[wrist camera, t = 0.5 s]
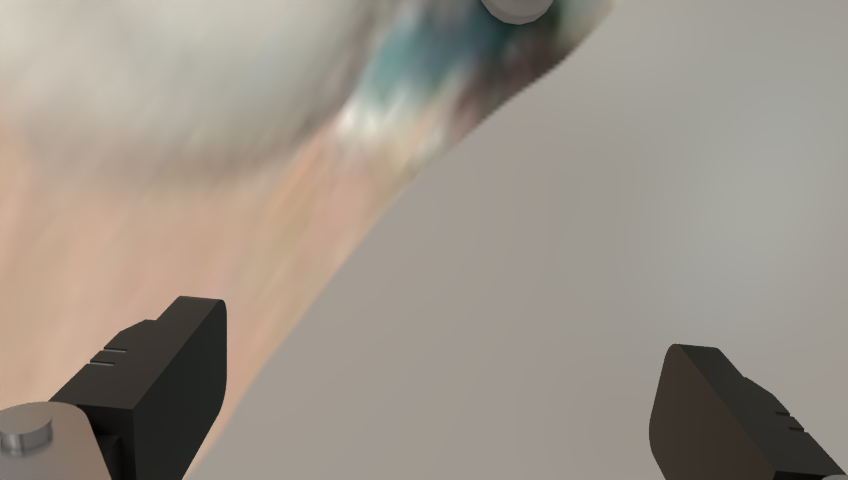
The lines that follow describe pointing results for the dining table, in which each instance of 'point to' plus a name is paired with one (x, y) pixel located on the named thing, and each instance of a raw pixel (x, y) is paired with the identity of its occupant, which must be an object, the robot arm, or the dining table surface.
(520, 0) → the rook chess piece
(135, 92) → the dining table surface
